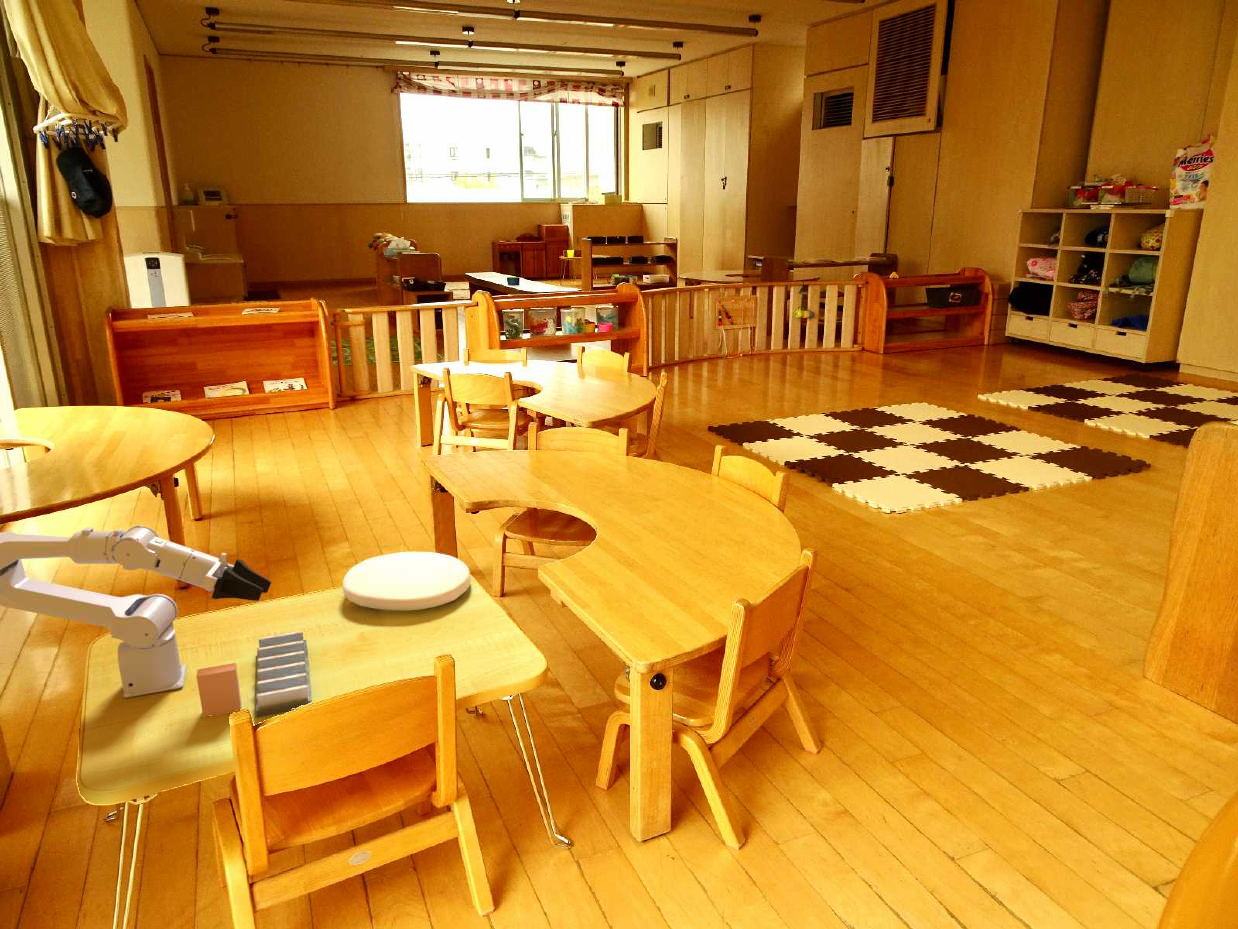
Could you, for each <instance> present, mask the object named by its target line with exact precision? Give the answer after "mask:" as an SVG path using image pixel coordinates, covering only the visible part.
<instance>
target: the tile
mask: <svg viewBox="0 0 1238 929" xmlns="http://www.w3.org/2000/svg"><path fill="white" fill-rule="evenodd" d="M196 680H197V681H196V682H197V687H198V693H199V699H200V705H201V712H202V716H203V717H204V718H207V717H206V716H209V715H214V716H218V715H217V714H219V715H225V714H229V713H234V711H235V712H237V711H236V710H240V709H241V708H242V707H243V706H242V705H243V704H242V695H241V690H240V683H239V682H240V681H239V676H238V670H237V663H236V662H234V663H233V662H232V663H227V664H221V665H216V666H210V667H205V668H200V669H199V668H198V669H197V670H196ZM241 706H242V707H241ZM241 710H242V709H241ZM241 710H240V711H241ZM227 712H228V713H227ZM209 717H210V716H209Z"/></svg>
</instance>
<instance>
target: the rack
mask: <svg viewBox="0 0 1238 929" xmlns="http://www.w3.org/2000/svg"><path fill="white" fill-rule="evenodd" d="M258 646H259V647H257V648H256V649H257V650H256V685H255V686H256V689H255V690H256V692H255V693H256V695H255V715H256V718H260V717H261V718H262V717H265V716H270V715H274V714H275V715H276V714H281V713H284V712H289V711H288V710H291V709H292V708H297V707H299V706H301V705H306V704H308V703H310V702H312V703H313V698H312V689H311V688H312V687H311V679H310V678H311V677H310V676H311V675H310V665H309V654H308V644H307V639H304V633H303V630H299V631H292V632H287V633H280V634H274V635H269V636H261V637H258ZM291 711H292V710H291Z"/></svg>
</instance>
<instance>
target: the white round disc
mask: <svg viewBox="0 0 1238 929" xmlns="http://www.w3.org/2000/svg"><path fill="white" fill-rule="evenodd" d="M469 575H470V576H469ZM471 577H472V575H471V572H470V569H469V567H468V566H467V564H465V562H463V561H462V560H460V559H459V558H457V557H454V556H452V555H448V554H444V553H439V552H431V551H402V552H400V551H399V552H395V553H389V554H382V555H378V556H373V557H371V558H368V559H367V558H366V559H364V560H363V561H361V562H359V563H357V564H355V565H354V566H352V567H351V568H350V569H349V570H348V571H347V573H346V574H345V575H344V577H343V581H342V593H343V595H344V596H345V597H346V599H347V600H348V601H349V602H352V603H353V604H355V605H357V606H359V607H365V608H371V609H377V610H386V611H418V610H425V609H431V608H434V607H439V606H442V605H446V604H447V603H450V602H452V601H453V602H454V601H455V600H457V599H458V598H459V597H460V596H461V595H463V594H464V593H465V592H466V591H467V590H468V588H469V587H470V586H471Z"/></svg>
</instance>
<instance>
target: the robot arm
mask: <svg viewBox="0 0 1238 929" xmlns="http://www.w3.org/2000/svg"><path fill="white" fill-rule="evenodd" d="M227 555H228V554H227V553H226V552H221V554H220V555H219V557H217V556H214V555H211V554H208V553H205V552H202V551H199V550H196V549H194V548H190V547H187V546H185V545H182V544H179V543H175V542H173V541H170V540H168V539H165V538H160V537H159V535H158V534H157V532H156V531H155V530H153V529H152V528H150V527H147V526H141V525H134V526H131V528H129V529H128V530H126V531H125V530H123V529H122V528H115V529H114V530H94V527H85V528H83V529H82V530H79V531H76V532H75V533H74V534H73V535H72V536H54V535H35V534H23V533H22V534H21V533H20V534H19V533H15V532H13V531H10V530H9V531H3V532H0V606H1V607H6V608H10V609H14V610H18V611H19V610H20V611H23V612H24V611H25V612H31V613H34V614H40V615H45V616H50V617H53V618H54V617H55V618H60V619H63V620H64V619H65V620H69V621H74V622H77V623H78V622H79V623H85V624H88V625H89V624H90V625H93V626H99V627H103V628H107V629H108V632H109V633H110V636H111V638H113V639H117V640H119V641H120V640H121V641H122V642H120V643H119V644H118V646H117V663H118V669H119V674H120V675H119V676H120V679H121V686H122V689H123V698H132V697H138V696H143V695H149V694H153V693H160V692H165V691H169V690H177V689H181V688H184V682H185V679H186V678H185V677H186V673H187V672H186V671H187V664H181V659H180V653H179V646H178V641H177V636H176V630H175V628H174V622H175V620H176V618H177V616H178V614H179V613H178V612H179V609H178V605H177V602H175V600H173V598H171V597H170V596H168V595H167V594H163V593H162V594H161V593H154V594H150V595H145V594H139V593H138V594H137V593H136V594H132V595H127V596H123V597H119V596H115V595H109V594H106V593H105V594H103V593H101V592H100V593H99V592H95V591H92V590H91V591H90V590H85V589H81V588H78V587H77V588H76V587H70V586H66V585H60V584H57V583H53V582H48V581H47V582H46V581H42V580H37V579H33V578H29V577H27V576H26V574H25V569H24V566H23V562H22V561H23V560H30V559H31V560H32V559H46V558H47V559H50V558H52V559H53V558H56V559H57V558H69V559H70V560H72V561H73V562H74V563H75V564H80V565H95V564H96V565H100V564H101V565H118V564H119V565H120V566H122V569H123V570H125V571H135V570H139V569H142V570H145V571H151V572H154V573H157V574H161V575H164V576H165V577H169V578H173V579H176V580H178V581H181V582H184V583H187V584H190V585H193V586H196V587H200V588H203V589H204V590H205V591H208V592H212V595H211V599H213V600H218V599H219V600H220V599H239V600H244V601H245V600H247V601H254V602H255V601H256V602H259V600H260V598H261V596H262V594H267V593H268V592H269V589H270V587H271V585H272V581H271V580H269V579H268V578H266V577H264V576H262V575H261V574H260V573H257V572H256V571H254V570H253V569H251V567H249V566H248V565H247V564H246V563H245V561H244V560H242V559H239V558H238V559H236V560H235V562H234V564H232V563H231V564H230V563H228V561H227V559H226V558H227Z"/></svg>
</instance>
